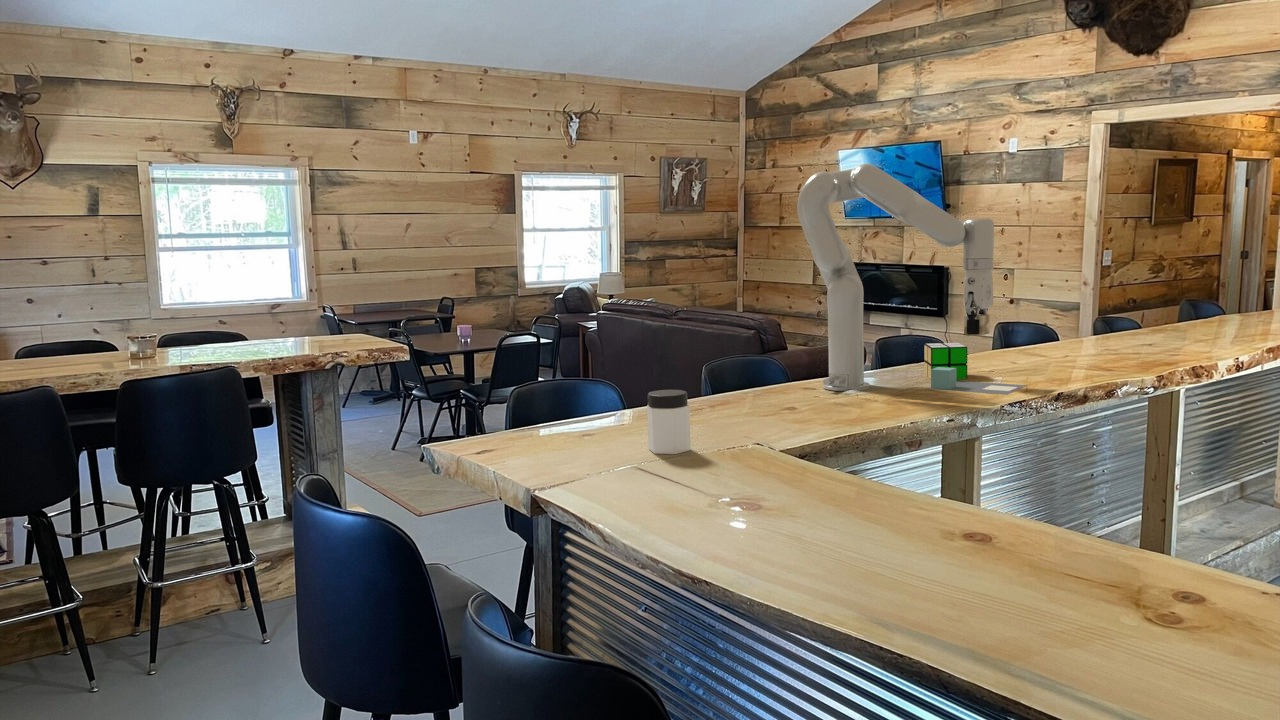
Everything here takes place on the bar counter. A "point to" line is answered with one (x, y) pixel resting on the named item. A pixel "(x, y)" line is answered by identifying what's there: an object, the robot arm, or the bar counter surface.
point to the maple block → (983, 324)
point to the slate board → (984, 387)
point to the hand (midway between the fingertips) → (976, 332)
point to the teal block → (943, 378)
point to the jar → (668, 422)
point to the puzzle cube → (946, 358)
